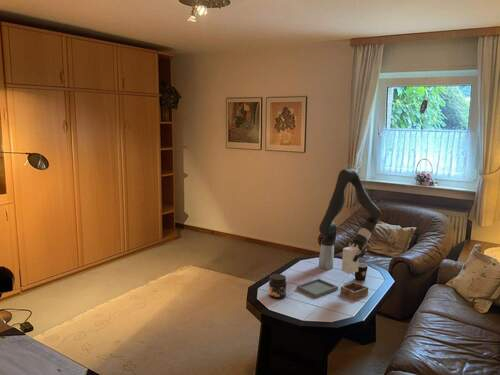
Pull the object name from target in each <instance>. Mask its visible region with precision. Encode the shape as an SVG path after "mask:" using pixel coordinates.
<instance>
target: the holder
mask: <svg viewBox="0 0 500 375" xmlns="http://www.w3.org/2000/svg"><path fill="white" fill-rule="evenodd" d="M340 294H341V295H342V296H345V297H347V298H350V299H352V300H358V299H360V298H364V297H365V296H367V295H368V294H369V287H368V286H366V285H364V284H362V283H358V282H356V281H352V282H349V283H347V284H344V285H342V286H340Z"/></svg>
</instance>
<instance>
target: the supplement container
mask: <svg viewBox="0 0 500 375" xmlns="http://www.w3.org/2000/svg"><path fill="white" fill-rule="evenodd" d="M287 286H288V282H287V276H286V275H284V274H282V273H281V274H280V273H274V274H270V276H269V281H268V296H269V297H270V298H271V297H272V299H274V298H275V300H282V299H285V298H286V296H287Z"/></svg>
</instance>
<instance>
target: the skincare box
mask: <svg viewBox="0 0 500 375" xmlns="http://www.w3.org/2000/svg"><path fill="white" fill-rule="evenodd" d="M350 246H351V245H350ZM359 250H360V249H359V248H356V247H354V246H351V247H346V248H344V247H343V248H342V260H341V262H342V264H341V271H342V272H344V273H346V274H347V275H349V274H352V273H353V274H355V272H358V265H359V263H360V257H359V258H358V260H357V261H356V262H354V261H353V259H354V257H355V256H356V255H357V252H358V251H359Z"/></svg>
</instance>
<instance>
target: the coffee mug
mask: <svg viewBox="0 0 500 375" xmlns="http://www.w3.org/2000/svg"><path fill="white" fill-rule="evenodd" d="M368 267H369V265H368V264H367V263H364V262H359V265H358V272H354V273H351V274H352V275H354V279H355V280H356V281H357V282H365V281H366V278H367V271H368Z"/></svg>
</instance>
